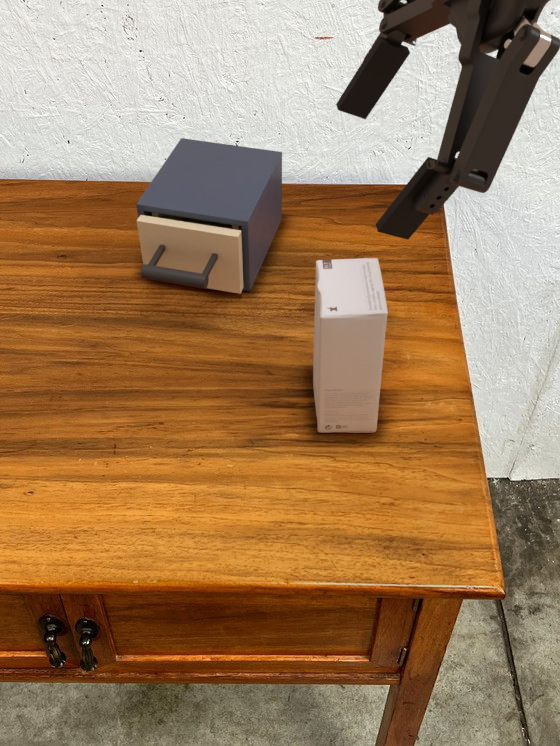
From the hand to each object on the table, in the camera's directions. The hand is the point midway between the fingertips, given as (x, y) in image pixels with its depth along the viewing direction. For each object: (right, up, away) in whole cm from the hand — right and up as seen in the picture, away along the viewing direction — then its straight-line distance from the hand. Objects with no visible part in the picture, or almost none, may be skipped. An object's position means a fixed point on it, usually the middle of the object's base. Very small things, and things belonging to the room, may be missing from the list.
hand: (369, 168), depth 60 cm
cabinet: (-15, 0, +34) cm, 37 cm away
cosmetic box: (-1, -19, +17) cm, 25 cm away
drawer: (-16, -3, +30) cm, 34 cm away
